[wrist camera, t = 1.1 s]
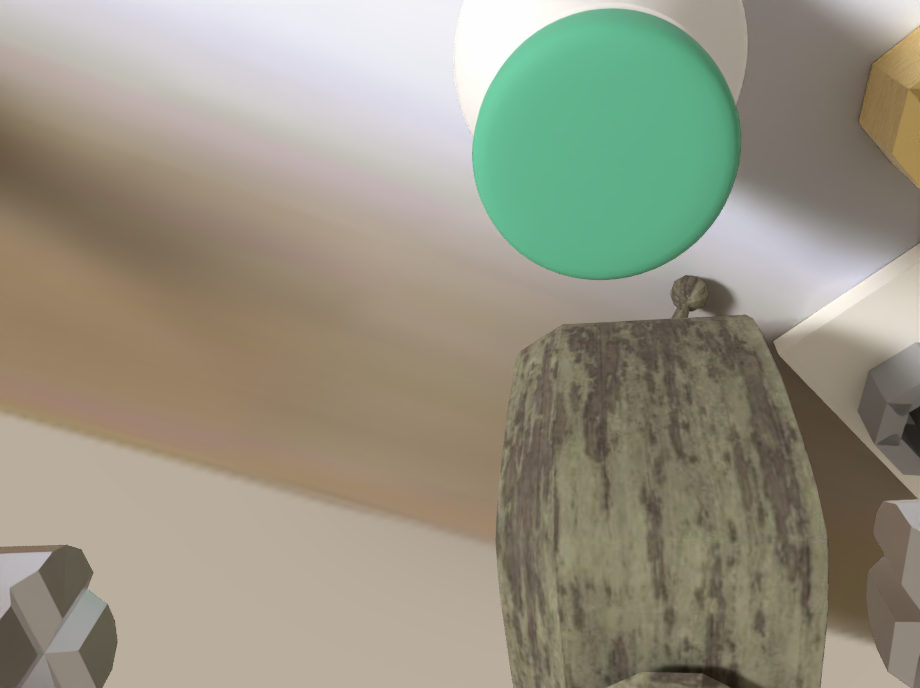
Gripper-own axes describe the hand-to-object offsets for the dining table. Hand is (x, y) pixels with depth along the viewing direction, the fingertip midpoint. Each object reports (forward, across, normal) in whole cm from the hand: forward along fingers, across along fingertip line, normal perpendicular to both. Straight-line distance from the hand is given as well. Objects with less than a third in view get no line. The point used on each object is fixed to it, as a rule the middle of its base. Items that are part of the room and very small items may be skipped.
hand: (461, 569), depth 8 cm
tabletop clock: (+28, -4, +15) cm, 32 cm away
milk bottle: (+27, -4, -3) cm, 28 cm away
